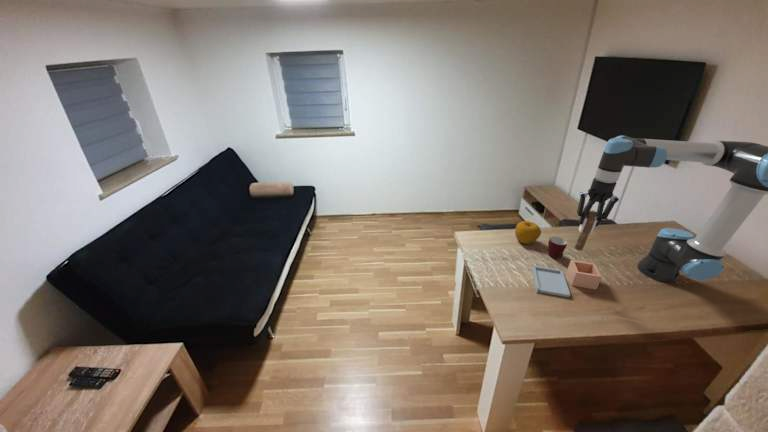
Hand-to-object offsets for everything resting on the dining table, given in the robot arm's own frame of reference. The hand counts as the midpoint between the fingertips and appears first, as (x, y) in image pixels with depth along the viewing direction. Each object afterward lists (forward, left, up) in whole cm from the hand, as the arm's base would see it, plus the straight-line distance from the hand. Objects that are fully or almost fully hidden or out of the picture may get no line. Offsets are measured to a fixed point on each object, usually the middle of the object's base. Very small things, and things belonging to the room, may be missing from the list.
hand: (585, 231), depth 127 cm
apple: (+15, -32, -28) cm, 45 cm away
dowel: (0, 0, -9) cm, 9 cm away
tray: (+8, +3, -28) cm, 29 cm away
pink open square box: (-6, -2, -28) cm, 28 cm away
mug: (+2, -19, -28) cm, 34 cm away
